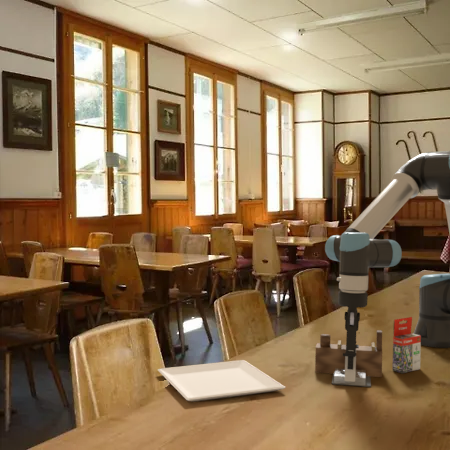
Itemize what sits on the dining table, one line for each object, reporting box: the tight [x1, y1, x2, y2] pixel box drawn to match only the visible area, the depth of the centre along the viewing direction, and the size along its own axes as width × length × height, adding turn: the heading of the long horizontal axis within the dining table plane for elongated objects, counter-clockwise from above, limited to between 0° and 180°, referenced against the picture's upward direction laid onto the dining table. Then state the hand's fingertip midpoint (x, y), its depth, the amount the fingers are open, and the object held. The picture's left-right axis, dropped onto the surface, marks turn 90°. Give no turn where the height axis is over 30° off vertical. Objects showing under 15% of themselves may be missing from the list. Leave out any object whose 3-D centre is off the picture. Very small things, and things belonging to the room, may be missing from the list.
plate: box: [157, 359, 286, 402], centre depth 161 cm, size 26×26×2 cm
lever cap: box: [334, 368, 366, 387], centre depth 163 cm, size 8×7×3 cm
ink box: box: [391, 316, 422, 374], centre depth 174 cm, size 4×8×15 cm, turn 124°
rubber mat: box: [331, 373, 372, 388], centre depth 164 cm, size 10×8×1 cm
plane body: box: [314, 329, 383, 378], centre depth 172 cm, size 18×5×12 cm, turn 77°
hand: (350, 376), depth 163 cm, fingers open, 8 cm apart
